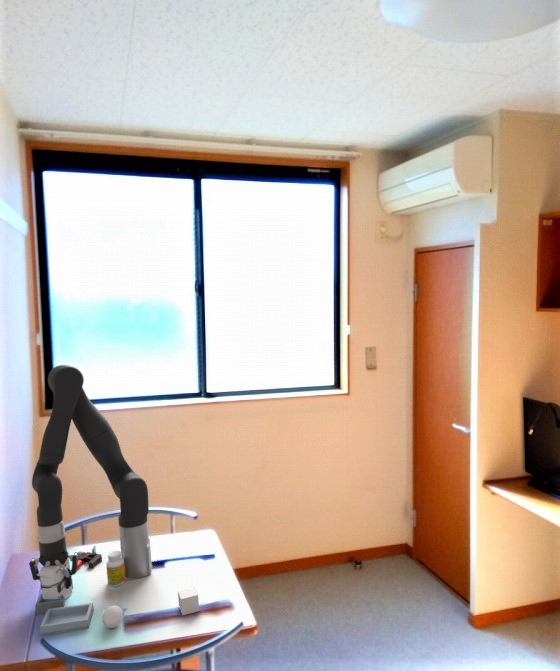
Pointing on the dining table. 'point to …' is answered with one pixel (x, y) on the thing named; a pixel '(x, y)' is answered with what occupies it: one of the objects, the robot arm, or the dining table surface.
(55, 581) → the ink box
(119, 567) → the supplement bottle
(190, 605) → the white cube
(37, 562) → the robot arm
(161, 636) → the dining table surface
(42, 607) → the cradle
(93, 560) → the toy gun
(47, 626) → the tray
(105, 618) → the white ball
